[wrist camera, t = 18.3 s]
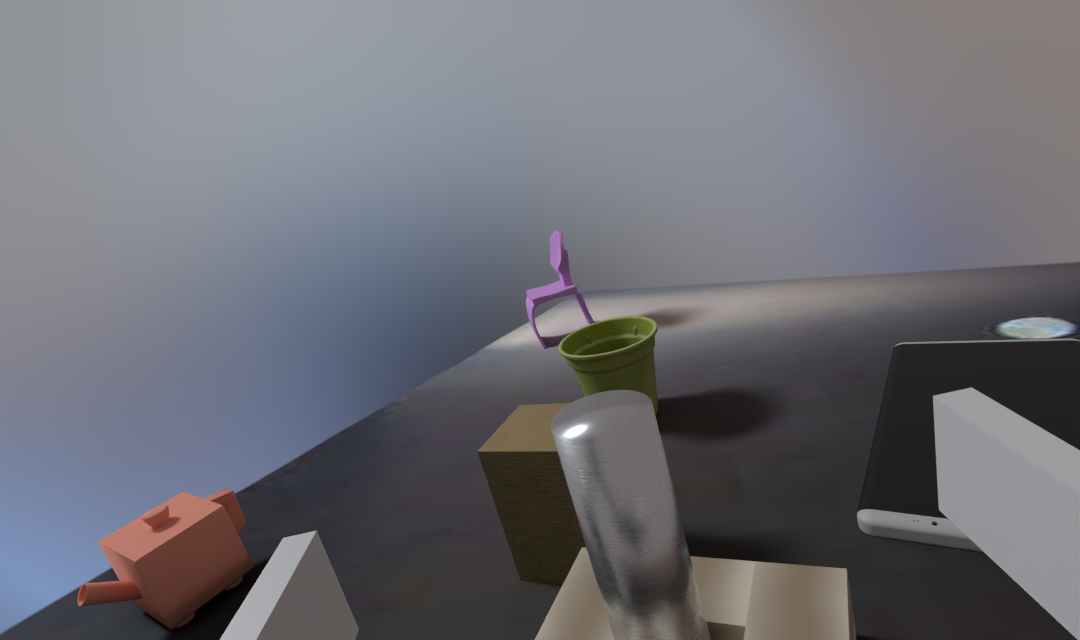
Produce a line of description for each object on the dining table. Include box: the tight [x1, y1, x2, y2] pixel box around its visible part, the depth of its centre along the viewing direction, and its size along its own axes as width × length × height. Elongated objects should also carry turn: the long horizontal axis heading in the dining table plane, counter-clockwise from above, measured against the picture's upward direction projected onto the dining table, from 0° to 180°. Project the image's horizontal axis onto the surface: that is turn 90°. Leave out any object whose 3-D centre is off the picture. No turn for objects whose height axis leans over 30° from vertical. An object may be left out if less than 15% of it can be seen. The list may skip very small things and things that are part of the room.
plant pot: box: [558, 316, 658, 415], centre depth 57 cm, size 9×9×9 cm
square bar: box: [478, 403, 586, 585], centre depth 40 cm, size 6×6×10 cm
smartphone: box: [857, 339, 1080, 553], centre depth 42 cm, size 13×27×2 cm, turn 146°
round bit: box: [550, 390, 711, 640], centre depth 25 cm, size 4×4×16 cm
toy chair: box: [526, 231, 594, 349], centre depth 85 cm, size 8×9×15 cm
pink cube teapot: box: [78, 489, 254, 629], centre depth 47 cm, size 8×12×8 cm, turn 144°
